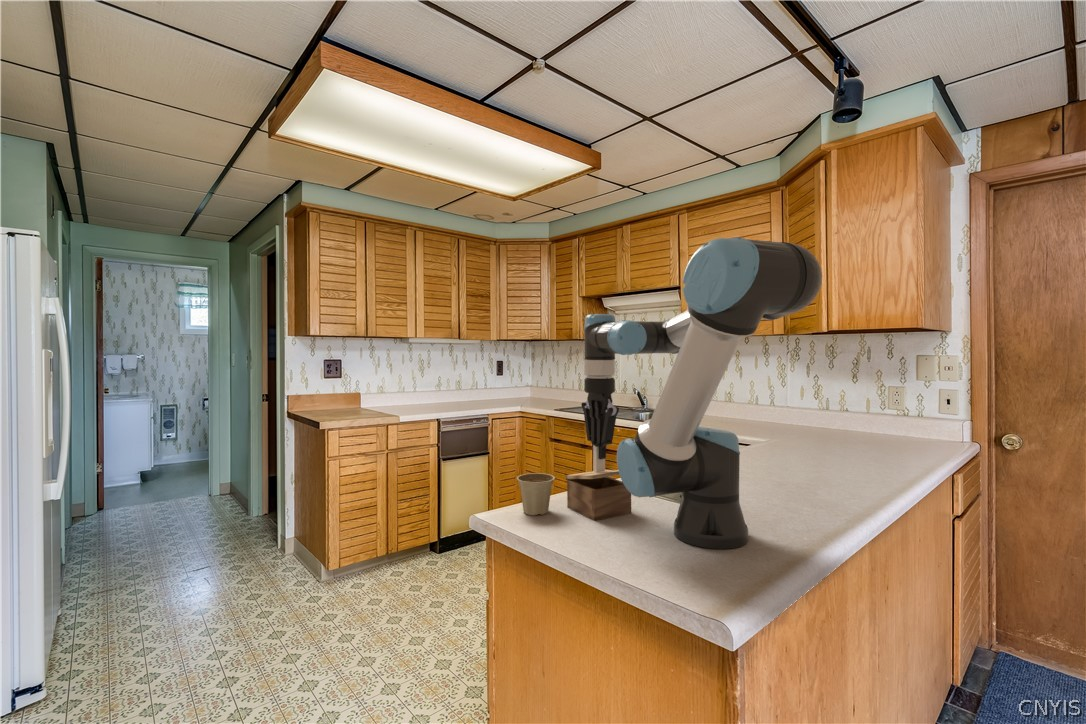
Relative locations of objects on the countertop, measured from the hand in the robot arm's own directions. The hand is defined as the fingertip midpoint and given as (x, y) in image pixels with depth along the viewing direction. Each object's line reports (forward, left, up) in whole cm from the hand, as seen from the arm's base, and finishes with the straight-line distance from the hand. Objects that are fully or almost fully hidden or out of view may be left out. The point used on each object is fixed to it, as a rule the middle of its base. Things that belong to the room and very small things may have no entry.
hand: (599, 471), depth 128 cm
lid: (+1, 0, -2) cm, 2 cm away
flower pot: (+7, +14, -10) cm, 19 cm away
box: (0, 0, -10) cm, 10 cm away
